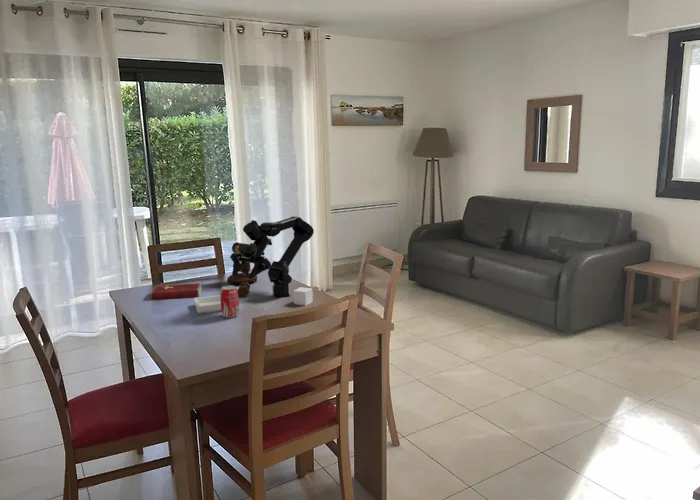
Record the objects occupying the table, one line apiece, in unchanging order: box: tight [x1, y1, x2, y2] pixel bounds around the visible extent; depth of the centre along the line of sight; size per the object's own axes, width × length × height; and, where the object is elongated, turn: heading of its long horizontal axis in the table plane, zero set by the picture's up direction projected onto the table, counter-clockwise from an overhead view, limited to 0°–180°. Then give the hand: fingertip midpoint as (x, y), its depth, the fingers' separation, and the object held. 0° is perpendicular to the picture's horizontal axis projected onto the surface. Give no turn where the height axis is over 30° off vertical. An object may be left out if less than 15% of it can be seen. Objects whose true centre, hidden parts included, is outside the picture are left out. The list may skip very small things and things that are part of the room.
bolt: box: [237, 282, 251, 298], centre depth 248 cm, size 6×5×15 cm
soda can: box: [219, 284, 240, 319], centre depth 214 cm, size 7×7×12 cm
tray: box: [193, 294, 221, 315], centre depth 227 cm, size 16×14×3 cm
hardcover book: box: [150, 282, 203, 301], centre depth 247 cm, size 12×21×4 cm, turn 99°
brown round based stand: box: [227, 241, 258, 287], centre depth 266 cm, size 15×15×20 cm
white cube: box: [292, 286, 314, 306], centre depth 230 cm, size 6×6×6 cm
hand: (240, 277), depth 219 cm, fingers open, 9 cm apart
